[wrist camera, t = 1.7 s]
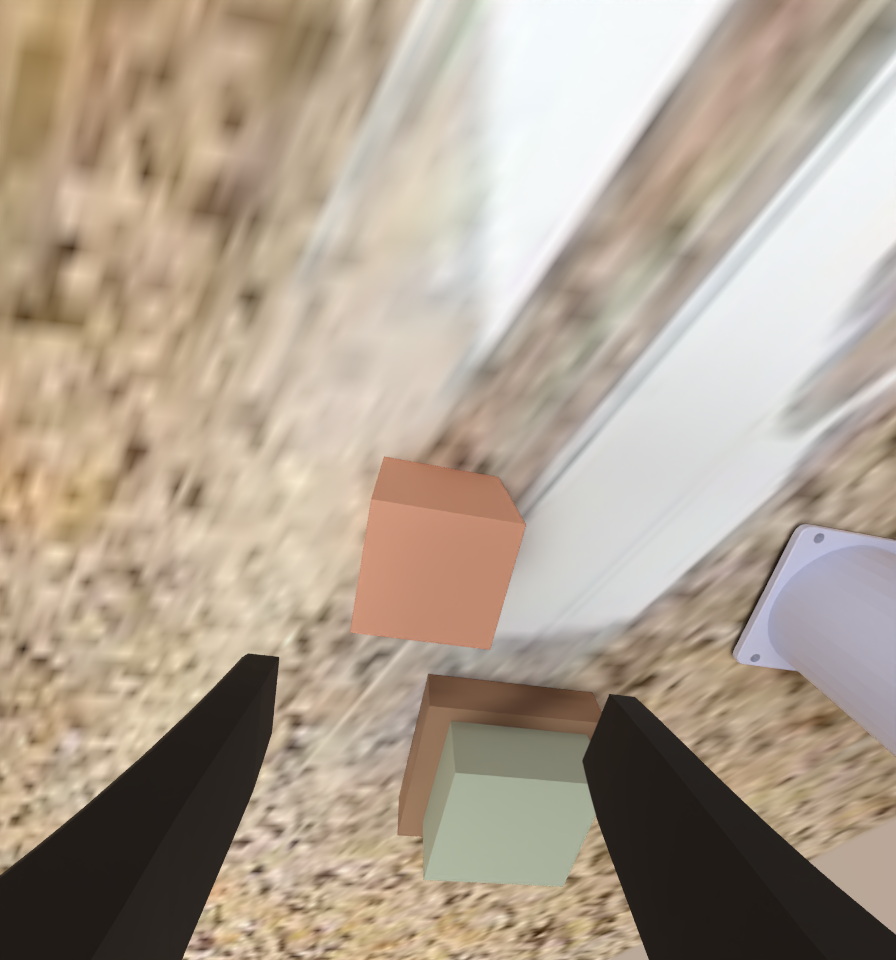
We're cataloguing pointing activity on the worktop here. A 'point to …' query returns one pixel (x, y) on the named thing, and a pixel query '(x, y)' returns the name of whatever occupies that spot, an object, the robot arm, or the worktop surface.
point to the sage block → (507, 806)
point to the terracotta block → (436, 555)
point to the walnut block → (486, 707)
